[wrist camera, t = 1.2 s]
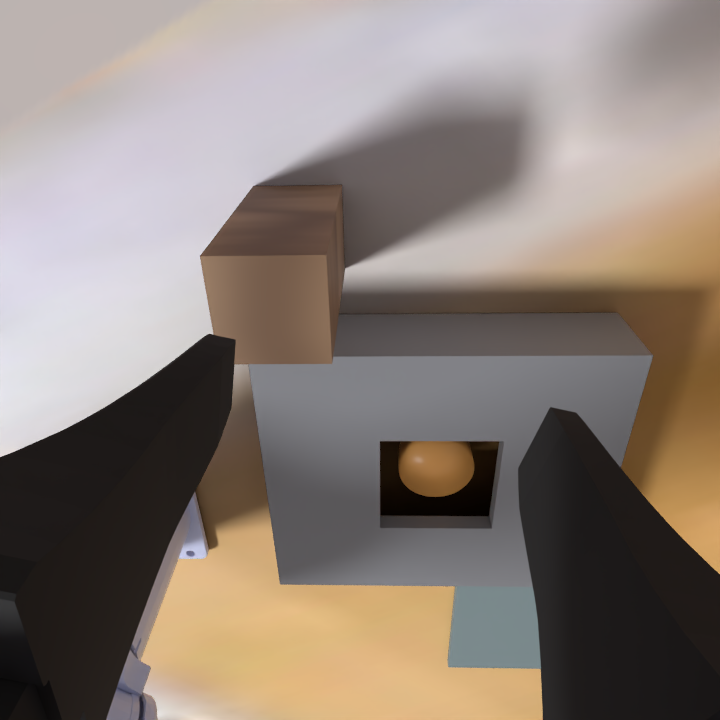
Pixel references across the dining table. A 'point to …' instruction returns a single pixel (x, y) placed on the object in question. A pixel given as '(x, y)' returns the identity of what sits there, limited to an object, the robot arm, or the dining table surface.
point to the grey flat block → (429, 435)
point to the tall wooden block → (279, 275)
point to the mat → (494, 628)
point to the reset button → (435, 466)
